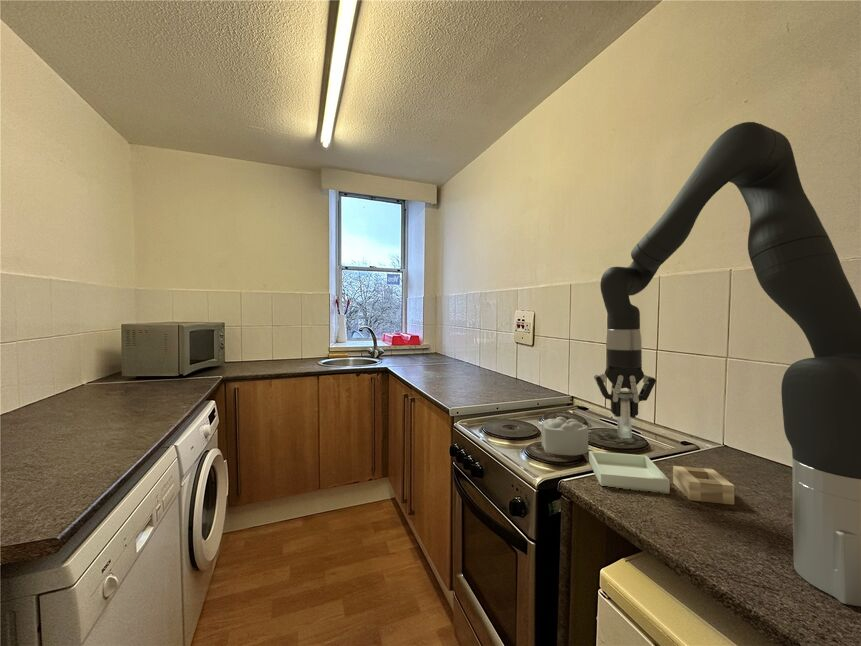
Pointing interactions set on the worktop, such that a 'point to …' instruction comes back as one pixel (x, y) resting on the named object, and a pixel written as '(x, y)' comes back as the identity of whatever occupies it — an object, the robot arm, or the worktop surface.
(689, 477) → the frame
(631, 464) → the parts tray
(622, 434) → the pin
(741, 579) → the worktop surface
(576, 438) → the lumpy-topped squat cylinder
